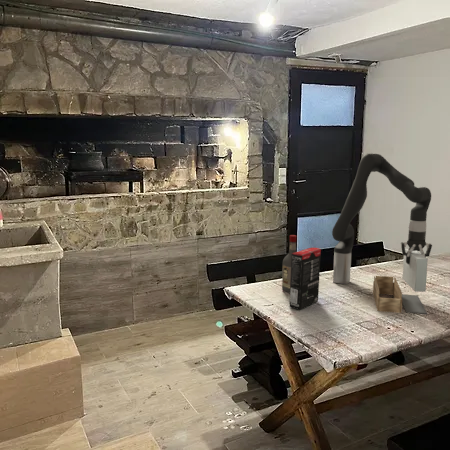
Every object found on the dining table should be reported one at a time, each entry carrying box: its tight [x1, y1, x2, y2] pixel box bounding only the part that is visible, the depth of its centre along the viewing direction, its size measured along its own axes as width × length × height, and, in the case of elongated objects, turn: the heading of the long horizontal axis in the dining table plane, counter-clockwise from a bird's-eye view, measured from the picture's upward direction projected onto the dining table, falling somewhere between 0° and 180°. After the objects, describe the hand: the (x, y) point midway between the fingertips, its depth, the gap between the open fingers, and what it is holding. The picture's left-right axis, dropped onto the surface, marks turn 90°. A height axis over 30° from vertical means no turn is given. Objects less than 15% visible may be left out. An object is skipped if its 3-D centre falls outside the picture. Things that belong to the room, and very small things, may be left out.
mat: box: [402, 293, 428, 315], centre depth 220 cm, size 9×25×1 cm, turn 167°
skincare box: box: [401, 248, 428, 293], centre depth 217 cm, size 21×6×16 cm, turn 174°
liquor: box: [281, 234, 297, 294], centre depth 239 cm, size 9×9×30 cm
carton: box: [372, 275, 403, 314], centre depth 222 cm, size 11×27×10 cm, turn 167°
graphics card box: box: [288, 247, 322, 311], centre depth 218 cm, size 17×7×27 cm, turn 139°
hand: (414, 264), depth 217 cm, fingers closed on skincare box, 5 cm apart
